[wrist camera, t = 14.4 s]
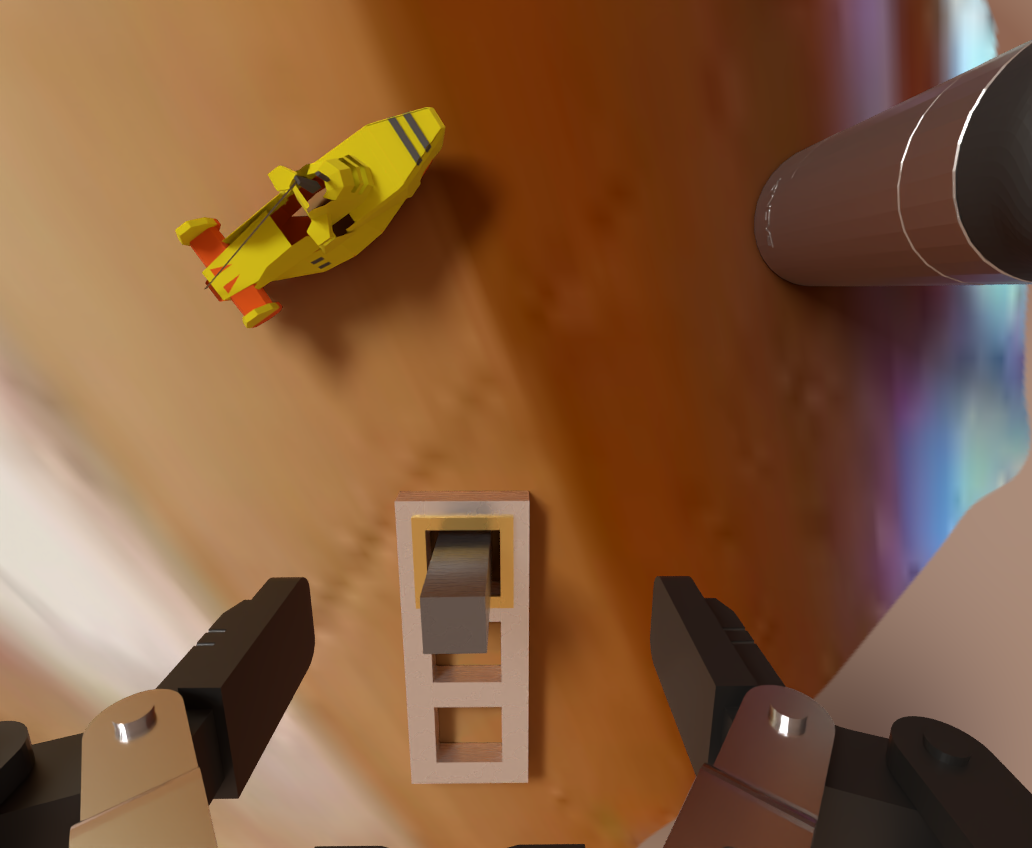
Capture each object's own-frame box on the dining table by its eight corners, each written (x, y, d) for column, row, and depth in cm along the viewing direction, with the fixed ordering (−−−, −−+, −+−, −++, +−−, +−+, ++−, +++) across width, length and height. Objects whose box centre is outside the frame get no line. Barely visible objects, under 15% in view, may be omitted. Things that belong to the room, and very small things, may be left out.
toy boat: (210, 252, 37) (103, 239, 27) (420, 94, 35) (385, 18, 25) (269, 330, 38) (188, 343, 29) (475, 182, 36) (462, 143, 26)
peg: (491, 526, 42) (485, 596, 33) (492, 571, 43) (486, 653, 34) (440, 526, 42) (419, 597, 33) (443, 572, 43) (423, 654, 34)
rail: (528, 490, 42) (529, 502, 39) (527, 762, 48) (528, 785, 46) (400, 491, 41) (393, 503, 39) (415, 763, 48) (411, 786, 46)
